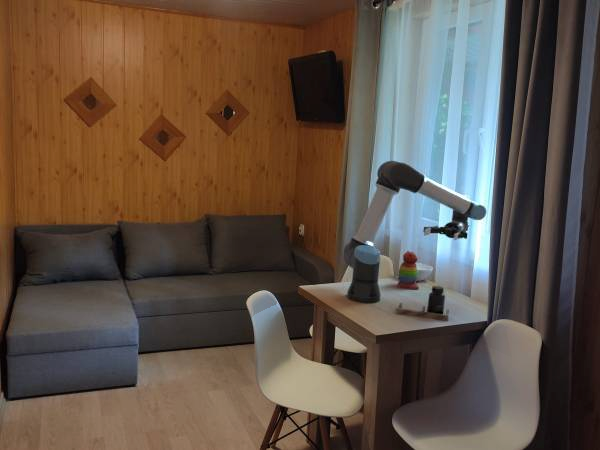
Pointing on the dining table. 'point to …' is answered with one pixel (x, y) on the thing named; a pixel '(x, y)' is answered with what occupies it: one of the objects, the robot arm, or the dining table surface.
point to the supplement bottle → (436, 300)
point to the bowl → (423, 271)
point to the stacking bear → (408, 272)
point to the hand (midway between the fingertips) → (439, 234)
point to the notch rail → (422, 313)
